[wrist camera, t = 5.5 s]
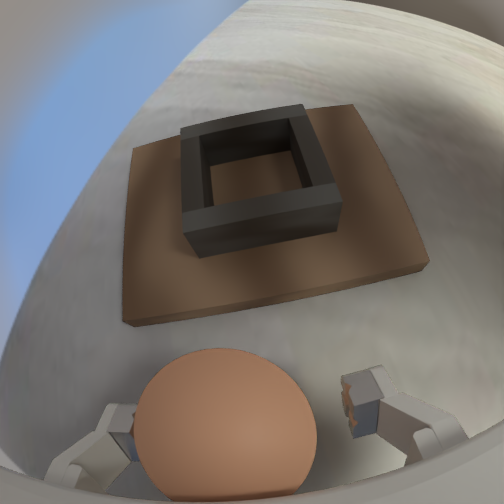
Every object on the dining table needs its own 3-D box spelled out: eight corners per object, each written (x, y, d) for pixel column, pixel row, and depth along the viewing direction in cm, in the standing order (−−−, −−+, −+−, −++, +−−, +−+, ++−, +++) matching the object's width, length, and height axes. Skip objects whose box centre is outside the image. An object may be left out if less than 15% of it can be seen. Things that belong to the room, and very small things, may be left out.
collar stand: (351, 117, 24) (355, 74, 20) (421, 270, 17) (450, 235, 13) (140, 160, 25) (118, 122, 21) (134, 326, 18) (94, 305, 14)
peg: (295, 367, 16) (298, 332, 7) (309, 444, 14) (329, 506, 5) (215, 380, 16) (125, 358, 7) (227, 455, 14) (149, 516, 5)
